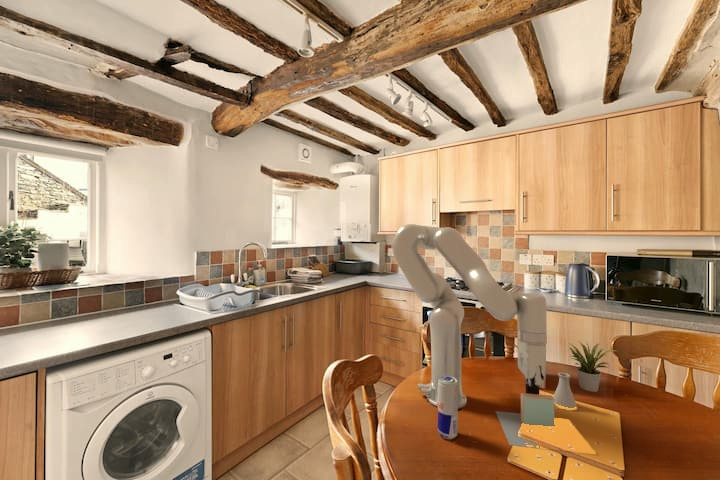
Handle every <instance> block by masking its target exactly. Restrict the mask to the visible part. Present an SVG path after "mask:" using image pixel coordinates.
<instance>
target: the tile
mask: <svg viewBox="0 0 720 480" xmlns="http://www.w3.org/2000/svg"><path fill="white" fill-rule="evenodd" d="M520 414H521V422H522V423H524V424H529V425H543V426H555V425H554V417H555V406H554V398H553V395H548V394H540V393H539V394H528V393H526V392H520Z"/></svg>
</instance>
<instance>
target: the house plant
mask: <svg viewBox="0 0 720 480" xmlns="http://www.w3.org/2000/svg"><path fill="white" fill-rule="evenodd" d="M577 342H578V343H579V344H580V345H581V348H582V350H583V353H584V355H583V354H582V353H581V351H580V350H579V349H578V348H577V347H576V346H575V345H573V344H572V343H569V342H568V344H569V345H571V346H572V347H573V348H572V347H569V346H568V347H569V350H570V351H571V353H572V355H570V356H569V357H570V358H571V359H572V360H574V361H577V362H578V363H577V362H576V363H574V365H577V366H578V367H576V372H577V378H578V384H579V387H580V388H581V389H582V390H585V391H586V392H594V393H595V392H599V387H600V381H601V376H602V371H601V370H599V369H597V368H608V369H609V367H608V366H606V365H609V366H610V364H609V363H608V362H604V361H603V362H600V363H598V364H597V362H598V361H599V359H601V358H603V356H606V355H607V353H611V352H617V350H614V349H612V350H611V349H609V350H605V351H603V350H604V348H603V347H602V348H600V347H599V345H601V342H600V343H599V342H598V343H596V344H595V345H594V346H593V348H592V349H590V346H589V344H588V343H586V345H585V344H583V343H582V342H581V341H578V340H577ZM598 347H599V348H598ZM597 350H598V351H597ZM584 356H585V357H584ZM596 364H597V365H596Z"/></svg>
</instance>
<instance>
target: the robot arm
mask: <svg viewBox="0 0 720 480" xmlns="http://www.w3.org/2000/svg"><path fill="white" fill-rule="evenodd" d="M393 237H394V238H393V240H392V243H391V244H392V245H391V246H392V247H391V249H392V255H393V257H394V260H395V261H396V263H397V264H398V267H399V268H400V270H401V272H402V273H403V275H404V277H405V278H406V280H407V282H408V284H409V285H410V286H411V288H412V290H413V292H414V294H415V295H416V297H417V298H418V299H419V300H420V301H421V302H422V303H425V304H430V305H431V307H432V308H433V309H432V310H431V313H430V315H429V316H430V317H429V330H430V343H431V344H430V346H431V347H430V352H431V353H430V354H431V356H430V357H431V367H430V369H431V371H430V372H431V380H430V383H427V384H424V383H417V391H421V394H426V399H427V401H428V402H429V403H430V404H432V406H435V407H437V408H438V378H439V377H440V376H450V377H453V378H455V379H456V380H457V410H460V409H462V408H464V407H465V406H466V405H467V403H468V402H467V400H468V399H467V396H466V395H465V394H464V393H463V392H462V387H463V386H462V380H463V379H462V334H461V325H462V323H463V321H464V319H465V318H464V317H465V310H464V306H463V304H462V303H461V301H460V300H459V298H458V296H457V295H456V293H455V292H454V290H453V289H452V287H451V286H450V284H449V283H448V281H447V280H446V279H445V278H444V276H443V275H441V274H440V273H437V272H433V271H432V269H431V268H430V267H429V265H428V263H427V262H426V260H425V258H424V257H422V255H421V254H420V252H419V249H420V250H421V249H423V250H431V251H438V253H440V255H441V256H442V257H443V258H444V259H445V260H446V261H447V262H448V264H449V265H450V266H451V267H452V269H453V270H455V272H456V274H458V276H459V277H460V278H461V280H462V281H463V283H465V285H466V286H467V288H468V289H469V290H470V291H471V293H472V295H473V296H474V297H475V298H476V300H478V302H479V303H480V304H481V305H482V306H483V308H484V309H485V310H486V311H487V312H488V313H489V315H491V317H493V318H495V319H496V320H498V321H501V322H502V321H503V322H508V321H511V320H513V319H514V318H515V317H517V340H518V345H517V346H518V347H517V367H518V369H519V370H520V372H521V373H522V374H523V375H524V378H525V379H524V381H525V393H528V394H540V388H539V387H540V386H541V379H542V380H545V378H546V376H547V359H546V360H545V348H544V345H545V344H546V345H547V344H548V340H547V338H548V335H547V332H548V329H547V325H548V324H547V298H546V297H545V296H544V295H543V294H538V293H534V292H533V293H532V292H531V293H530V292H525V293H524V292H523V293H522V292H521V293H520V292H513V291H509V290H505V289H504V288H502V286H501V285H500V284H499V283H498V281H497V280H496V279H495V278H494V277H493V276H492V274H491V272H490V271H489V269H488V267H487V266H486V264H485V262H484V260H483V259H482V258H481V257H480V256H479V254H478V253H477V252H476V251H474V249H473V248H472V247H471V246H470V245H469V244H468V242H466V240H465V239H464V238H463V235H462V234H461V232H460V231H459V230H458V229H456V228H453V227H446V226H445V227H440V226H439V227H436V226H429V225H421V224H413V223H409V224H406V225H403V226H401V227H400V228H399V229H398V230H397V231H396V233H395V234H394V236H393ZM546 379H547V378H546Z"/></svg>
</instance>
